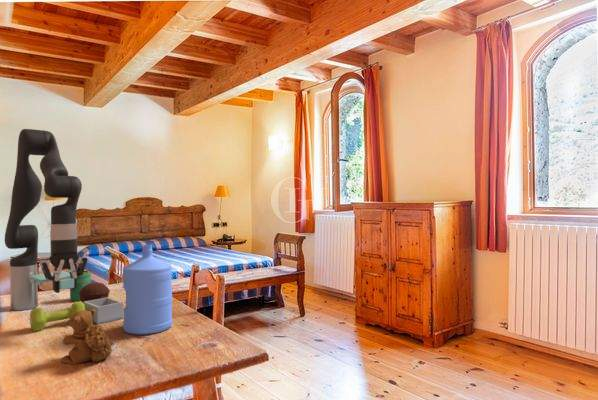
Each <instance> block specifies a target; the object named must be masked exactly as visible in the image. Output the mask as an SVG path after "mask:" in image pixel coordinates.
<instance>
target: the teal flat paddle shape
mask: <svg viewBox="0 0 598 400" xmlns="http://www.w3.org/2000/svg"><path fill="white" fill-rule="evenodd" d="M50 273H51V275H52V276H53V271H52V272H50ZM29 278H30V282H32V283H36V284H37V285H38V286H40V287H42V286H43V283H47V282H53V281H52V280H48V279H46V278H45V276H44V273H39V274H38V273H37V275H29ZM58 281H59V289H60V290H61V291H62V290H67V289H68V290H70V288H74V279H73V278H71V277H70V274H69V271H68V272H67V271H64V270H62V271H61V274H60V276H59V280H58Z"/></svg>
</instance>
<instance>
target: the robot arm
mask: <svg viewBox="0 0 598 400" xmlns="http://www.w3.org/2000/svg"><path fill="white" fill-rule="evenodd" d="M31 155H32V156H43V157H42V158H41V160H40V162H39V169H40V171H41V173H42V175H43V177H44V183H43V184H44V185H42V182H41V181H42V180H40V178H39V177H38V175H37V174H36V172H35V171H34V169H33V167H32V165H31V163H30V158H29V157H30V156H31ZM15 168H16V169H15V173H14V174H15V175H14V180H13V186H12V191H11V200H10V201H11V203H10V211H9V216H8V221H7V224H6V228H5V234H4V244H5V247H6V248H7V249H10V250H14V249H15V250H16V249H17V250H19V249H26V250H25V251H24V252H23V253H21V254H20V255H16V256H14V257H12V258H10V261H9V278H10V279H9V281H10V282H9V284H10V288H9V289H10V295H9V296H10V299H9V300H10V310H11V311H26V310H30V309H31V310H32V309H34V308H38V305H39V296H38V295H39V293H38V292H39V291H38V288H39V287H38V286H39V285H37V284H36V283H32V282H30V278H29V275H37V274H38V254H39V253H38V251H39V250H38V249H39V246H38V245H39V230H38V227H37V226H36V225H35V224H25V225H24V224H21V223H22V221H23V220H24V219H25V217H27V216H28V215H29V214H30V213H31V212H32V211H33V210H34V209H35V208H36V207H37V206H38V205H39V202H40V201H41V196H42V190H43V192H44V193H45V195H46V196H48V197H49V198H55V199H56V198H58V199H61V198H65V199H66V198H67V199H66V201H65V203H62V204H58V205H54V206H52V207H51V209H50V230H49V231H50V233H49V235H50V236H49V237H50V240H49V241H50V242H49V244H50V256H49V258H48V259H47V260H45V261H41V262H40V263H39V266H40V268H41V270H42V274H44V276H45V278H46V279H48V280H52V281H51V282H52V290H53V292H54V293H55V294H58V293H60V289H59V281H58V280H59V276H60V274H61V271H64V270H67V271H68V273H69V274H70V277H71V278H73V279H74V288H69V291H70V290H75V288H76V287H77V277H79V276H82V275H83V272H84V271H85V269H86V267H87V266H86V265H87V263H88V258H87V257H83V256H79V254H78V236H79V235H78V228H77V209H78V208H77V207H78V203H79V199H80V196H81V193H82V189H83V187H82V186H83V185H82V181H81V180H80V178H79V177H77V176H75V175H69V172H68V170H67V167H66V166H65V164H64V163H63V161H62V159H61V154H60V150H59V147H58V143H57V139H56V137H55V136H54V134H53V132H51V131H48V130H43V129H34V128H33V129H32V128H23V129H21V130H20V132H19V135H18V140H17V156H16V167H15ZM77 262H78V267H77V270H76V266H75V265H76V263H77ZM50 264H51V265H52V266H53V271H52V272H53V276H52V275H51V273H52V272H51V271H50V267H51V265H50ZM76 271H77V272H76Z"/></svg>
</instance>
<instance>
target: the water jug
mask: <svg viewBox="0 0 598 400" xmlns="http://www.w3.org/2000/svg"><path fill="white" fill-rule="evenodd" d="M141 246H142V250H141V251H142V256H141V257H140V258H138V259H136V260H135V261H133V262H131V263H129V264H127V265H126V266H124V267H123V270H122V282H123V283H122V288H123V290H124V291H125V307H123V323H122V327H123V330H124V332H125V333H127V334H131V335H137V336H139V335H141V336H142V335H151V334H158V333H162V332H164V331H166V330H169V328H171V327H172V325H173V289H172V286H173V283H172V279H173V269H172V265H171V264H170V263H168V262H166V261H164V260H161V259H160V258H156V257H154V255H153V244H143V245H141Z"/></svg>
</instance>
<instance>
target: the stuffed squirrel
mask: <svg viewBox="0 0 598 400" xmlns="http://www.w3.org/2000/svg"><path fill="white" fill-rule="evenodd" d="M94 313H95V310H90V311H87V310H82V311H78V312H76V313H75V314H73V315H72V316H71V317H70V318H69V320H68V321H67V322H66V324H65V325H64V328H66V329H68V325H69V327H71V328H72V329H73V332H72V334H71V335H65V336H64V337H63V338H62V343H63V345H65V346H67V345H71V344H72V345H73V346H72V349H71V350H69V351H68V354H66V355H64V356H62V358H61V359H60V362H61V363H62V364H69V365H77V364H83V363H86V362H90V361H91V362H93V363H95V362H96V363H98V362H101V361H103V360H105V359H107V358H108V357H110V355H111V354H112V352H113V351H114V349H112V346H111V342H110V339H109V338H108V337H107V334H106V332H105V331H104V327H103V326H102V325H101V324H94V323H93V322H92V316H93V315H94Z"/></svg>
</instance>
